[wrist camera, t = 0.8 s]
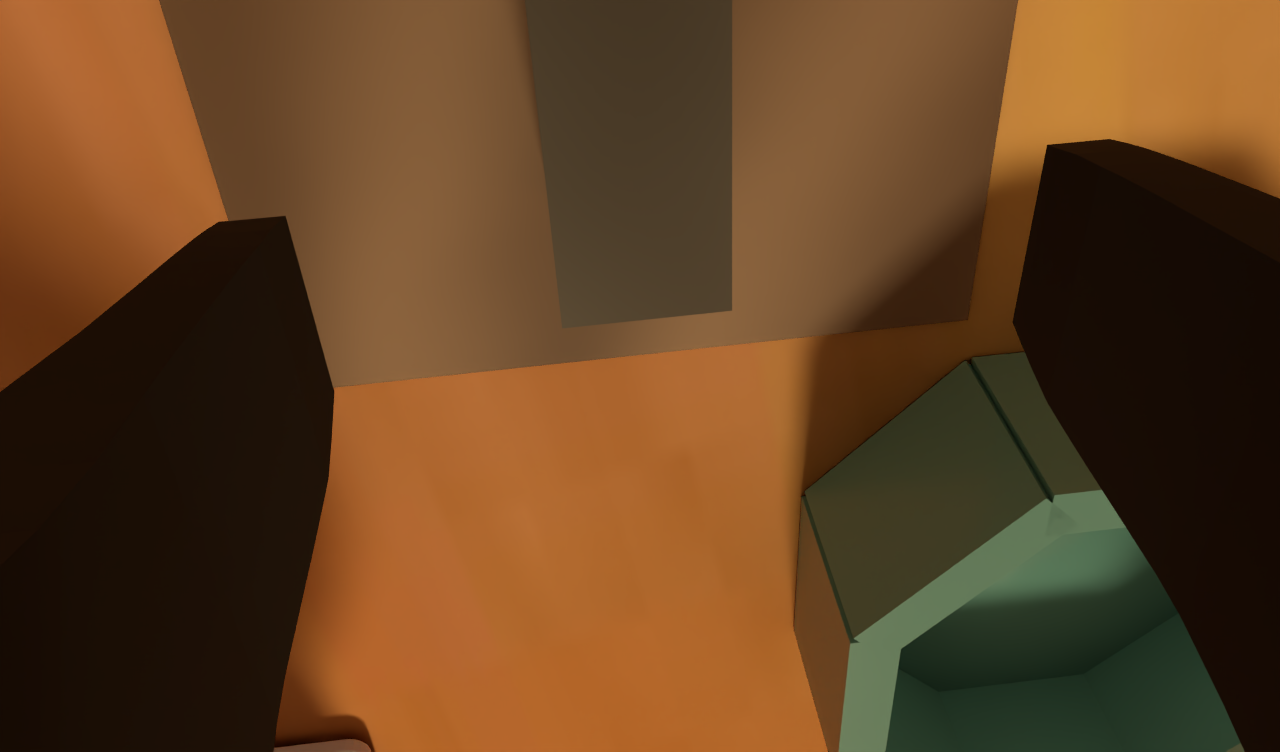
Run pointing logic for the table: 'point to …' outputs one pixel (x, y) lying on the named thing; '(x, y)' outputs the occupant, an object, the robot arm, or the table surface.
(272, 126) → the lid
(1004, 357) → the bowl
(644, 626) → the table surface
